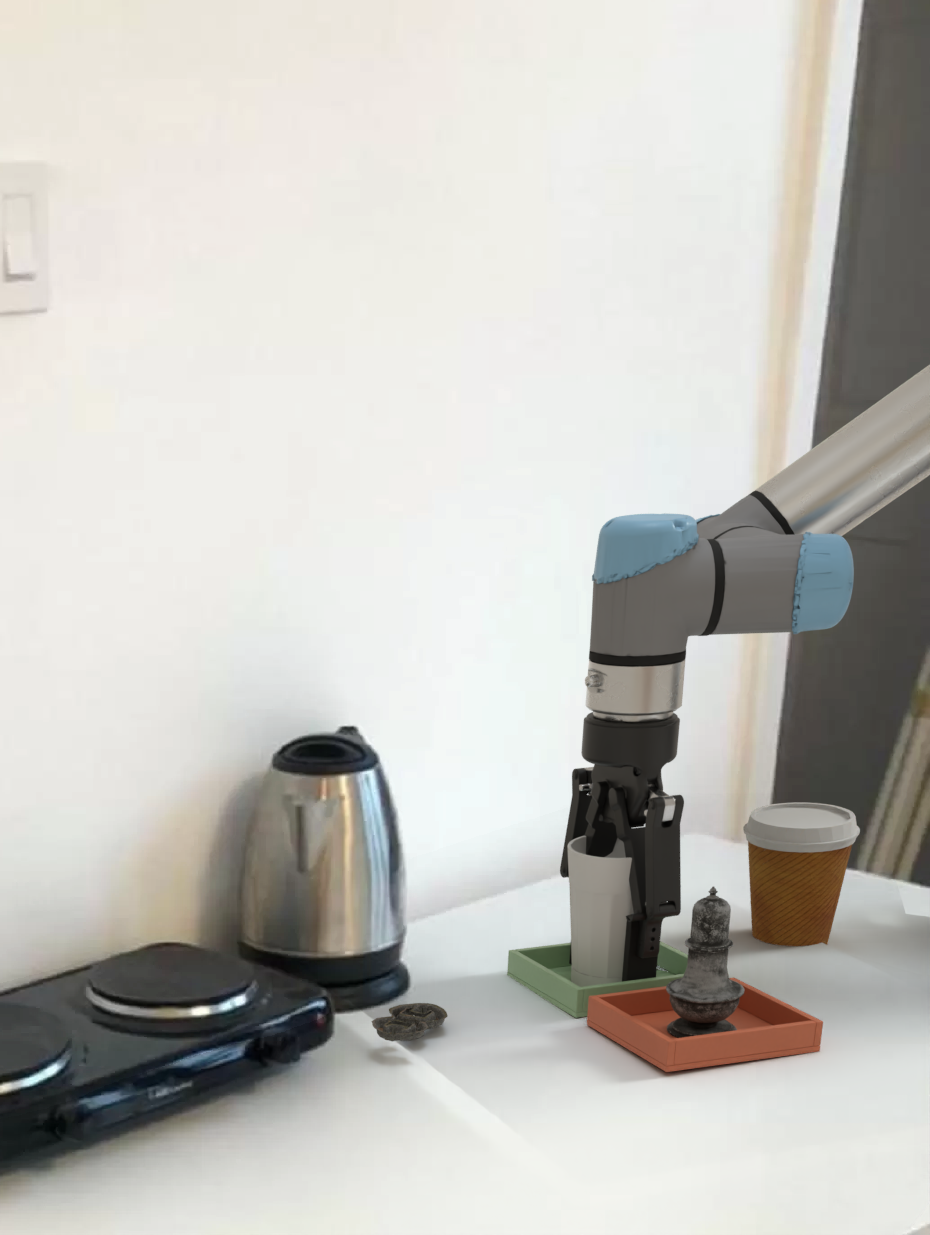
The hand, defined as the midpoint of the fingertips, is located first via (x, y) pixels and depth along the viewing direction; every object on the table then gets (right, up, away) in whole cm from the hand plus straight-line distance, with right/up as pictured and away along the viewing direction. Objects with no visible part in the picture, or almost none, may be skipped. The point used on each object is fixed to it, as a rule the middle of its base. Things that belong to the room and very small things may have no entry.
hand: (611, 976), depth 176 cm
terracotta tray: (+3, -6, -12) cm, 14 cm away
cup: (0, 0, +1) cm, 1 cm away
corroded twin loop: (-19, -5, -7) cm, 21 cm away
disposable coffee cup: (+19, +4, +8) cm, 21 cm away
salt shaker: (+3, -6, -12) cm, 14 cm away
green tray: (0, -1, 0) cm, 1 cm away
